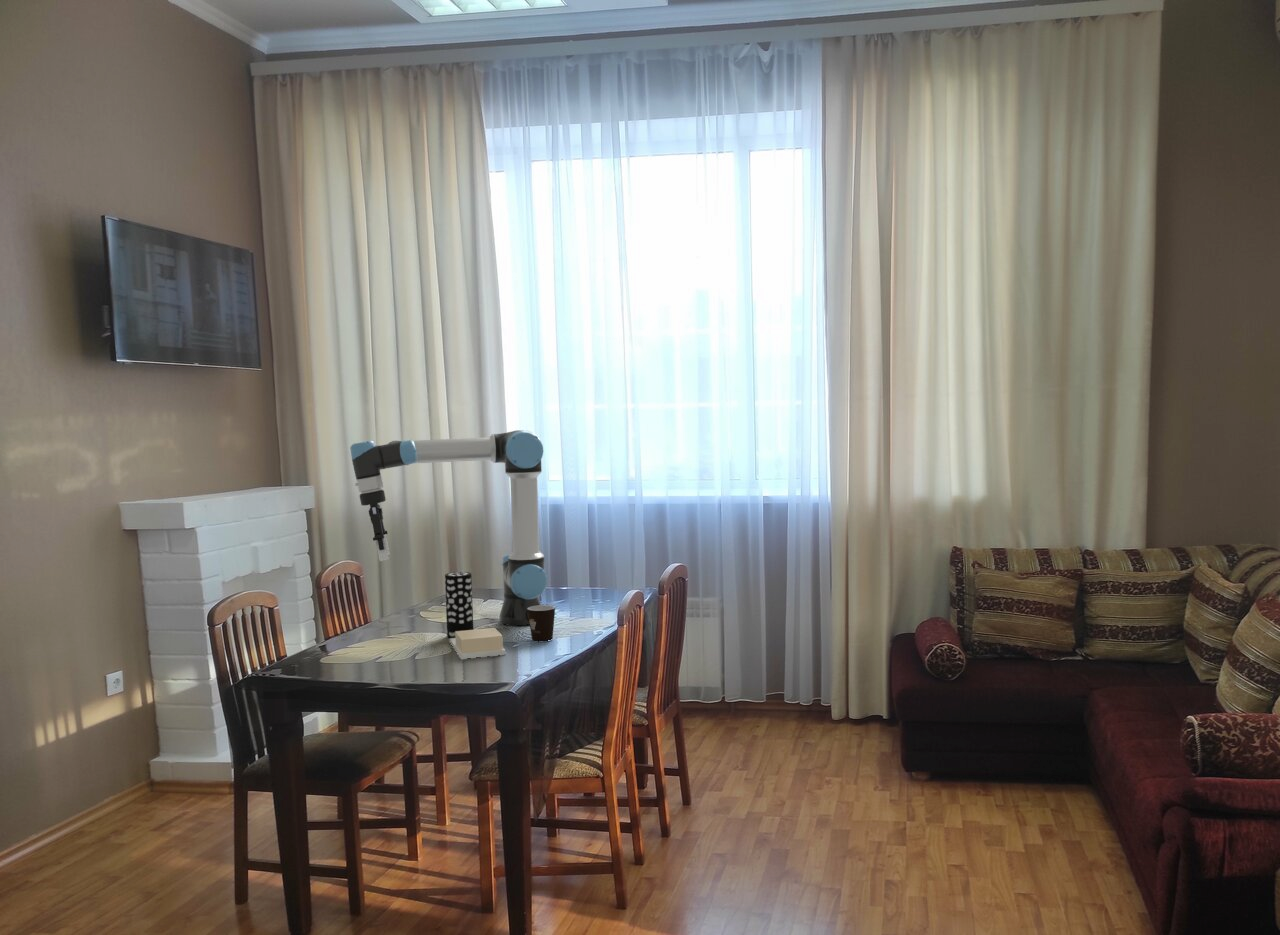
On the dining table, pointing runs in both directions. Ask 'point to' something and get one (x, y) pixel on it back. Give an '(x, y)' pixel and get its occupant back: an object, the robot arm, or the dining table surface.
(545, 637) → the coffee mug
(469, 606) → the spotted tube
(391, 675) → the dining table surface
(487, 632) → the stand
